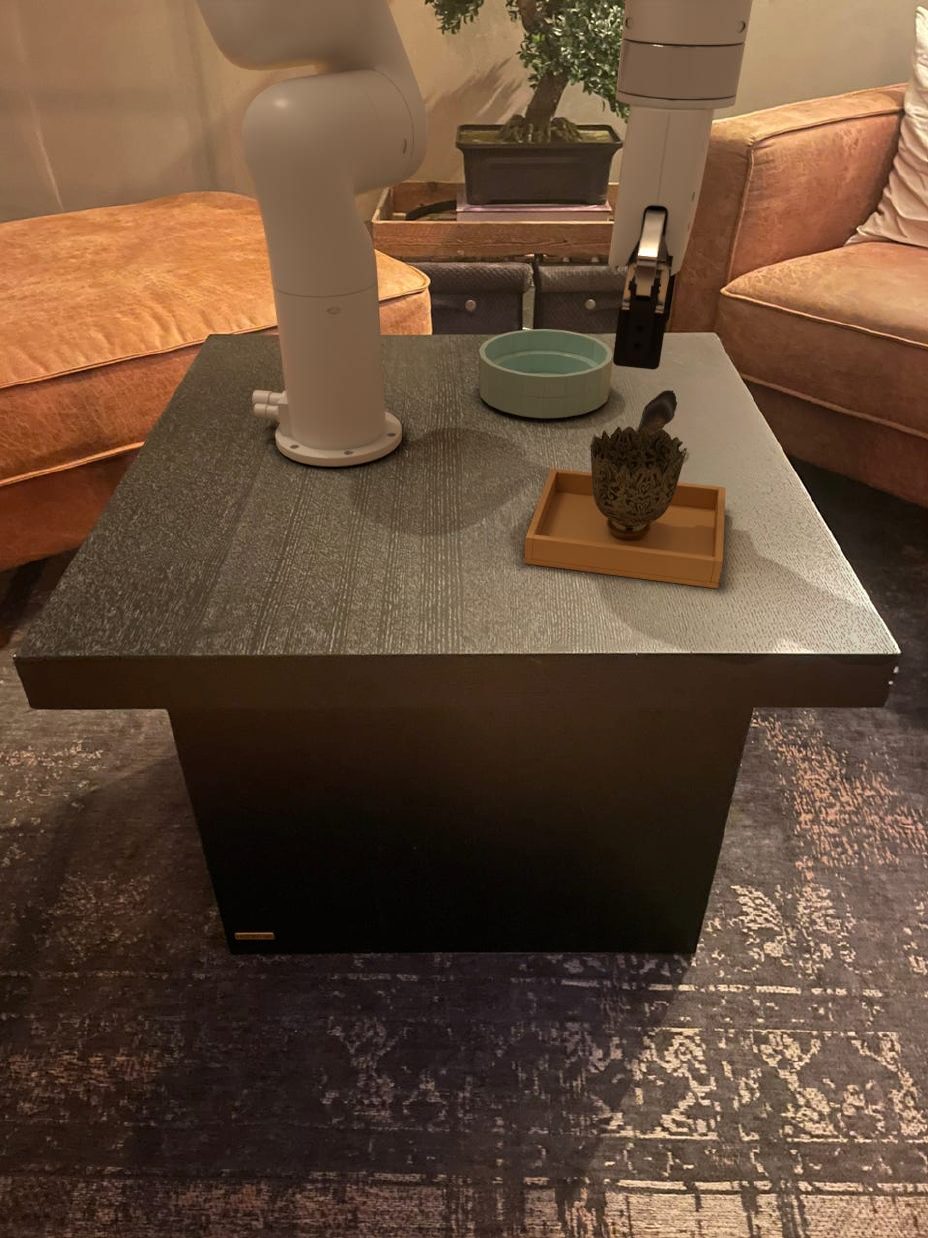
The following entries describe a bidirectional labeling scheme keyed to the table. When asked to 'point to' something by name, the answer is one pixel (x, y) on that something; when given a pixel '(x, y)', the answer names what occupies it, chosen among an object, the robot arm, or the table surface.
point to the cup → (634, 478)
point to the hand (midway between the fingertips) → (642, 341)
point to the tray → (669, 551)
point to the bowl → (545, 373)
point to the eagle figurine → (658, 413)
